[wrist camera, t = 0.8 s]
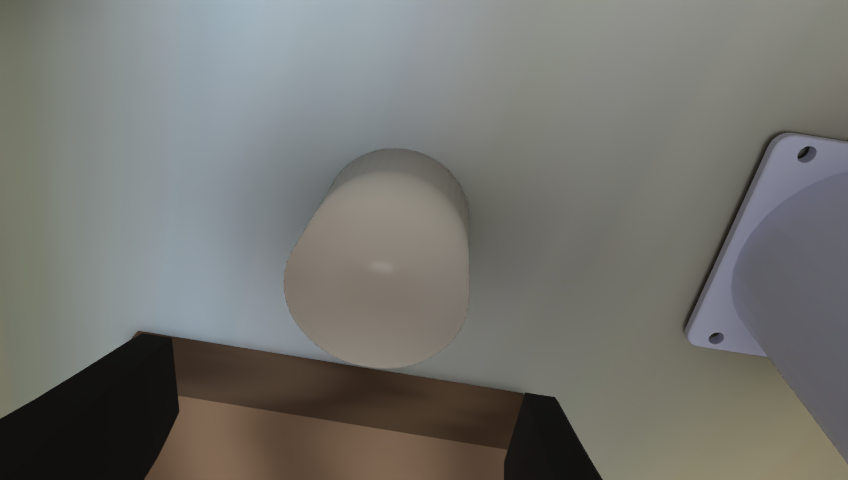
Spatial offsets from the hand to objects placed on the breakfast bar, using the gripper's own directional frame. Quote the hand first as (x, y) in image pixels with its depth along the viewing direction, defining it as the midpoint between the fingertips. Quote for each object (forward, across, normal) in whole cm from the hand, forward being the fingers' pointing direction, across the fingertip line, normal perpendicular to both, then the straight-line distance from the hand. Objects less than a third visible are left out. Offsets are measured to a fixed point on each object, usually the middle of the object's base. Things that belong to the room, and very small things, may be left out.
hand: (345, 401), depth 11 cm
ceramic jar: (+9, 0, 0) cm, 9 cm away
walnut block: (+9, +2, +13) cm, 16 cm away
